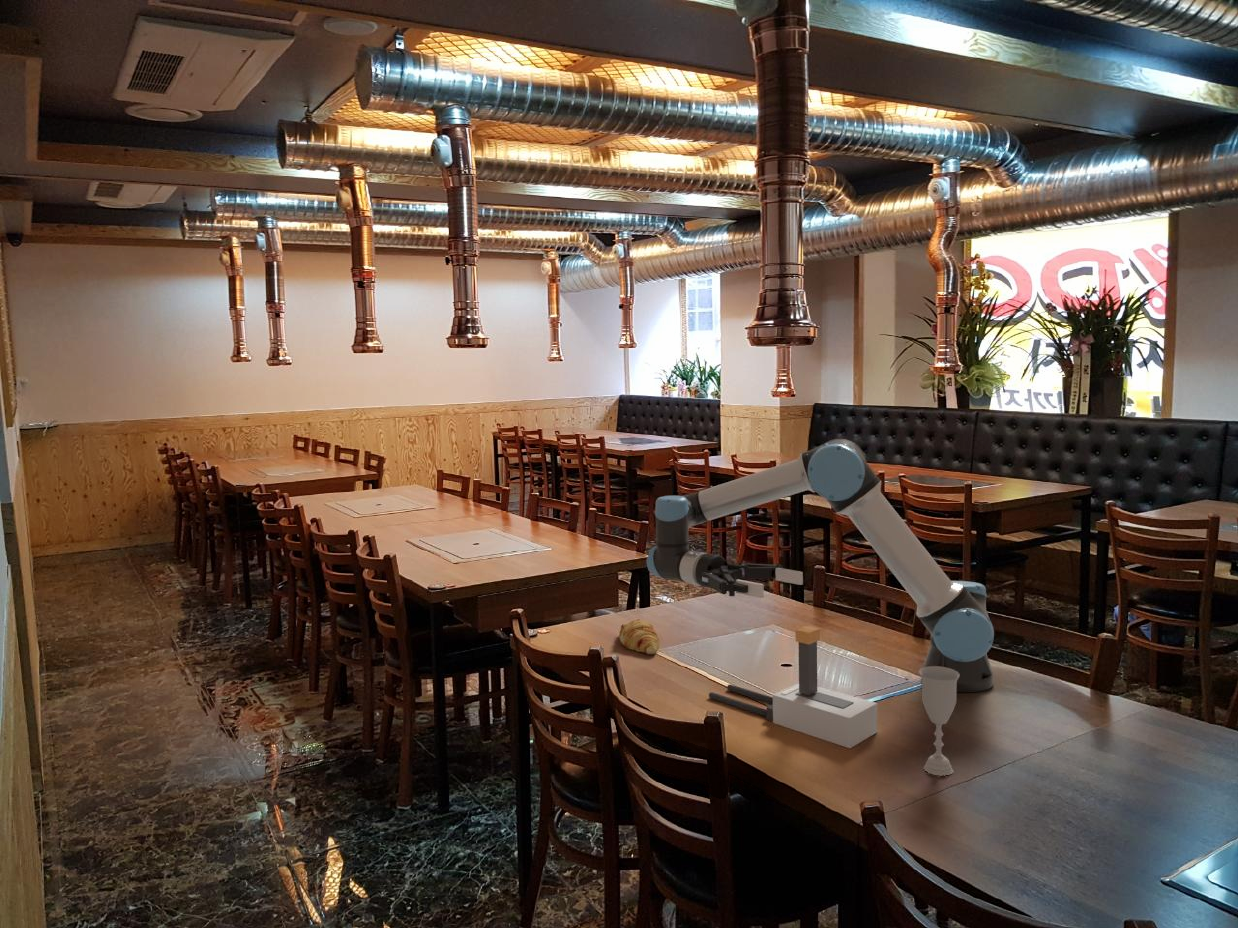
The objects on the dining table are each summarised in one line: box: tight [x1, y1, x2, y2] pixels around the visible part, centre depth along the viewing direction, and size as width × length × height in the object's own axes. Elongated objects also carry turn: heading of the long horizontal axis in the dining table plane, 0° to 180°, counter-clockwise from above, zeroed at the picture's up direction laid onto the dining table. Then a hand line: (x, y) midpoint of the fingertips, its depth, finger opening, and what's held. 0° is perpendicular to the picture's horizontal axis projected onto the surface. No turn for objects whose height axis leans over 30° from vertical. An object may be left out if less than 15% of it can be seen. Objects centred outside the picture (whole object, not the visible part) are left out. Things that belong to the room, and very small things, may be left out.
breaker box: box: [772, 682, 878, 749], centre depth 177 cm, size 18×10×6 cm, turn 44°
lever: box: [795, 625, 821, 695], centre depth 178 cm, size 3×4×13 cm
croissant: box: [618, 619, 660, 655], centre depth 233 cm, size 21×10×8 cm, turn 23°
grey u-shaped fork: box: [708, 684, 773, 722], centre depth 190 cm, size 19×9×3 cm, turn 44°
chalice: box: [918, 666, 960, 777], centre depth 156 cm, size 7×7×18 cm
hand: (782, 584), depth 181 cm, fingers open, 13 cm apart
